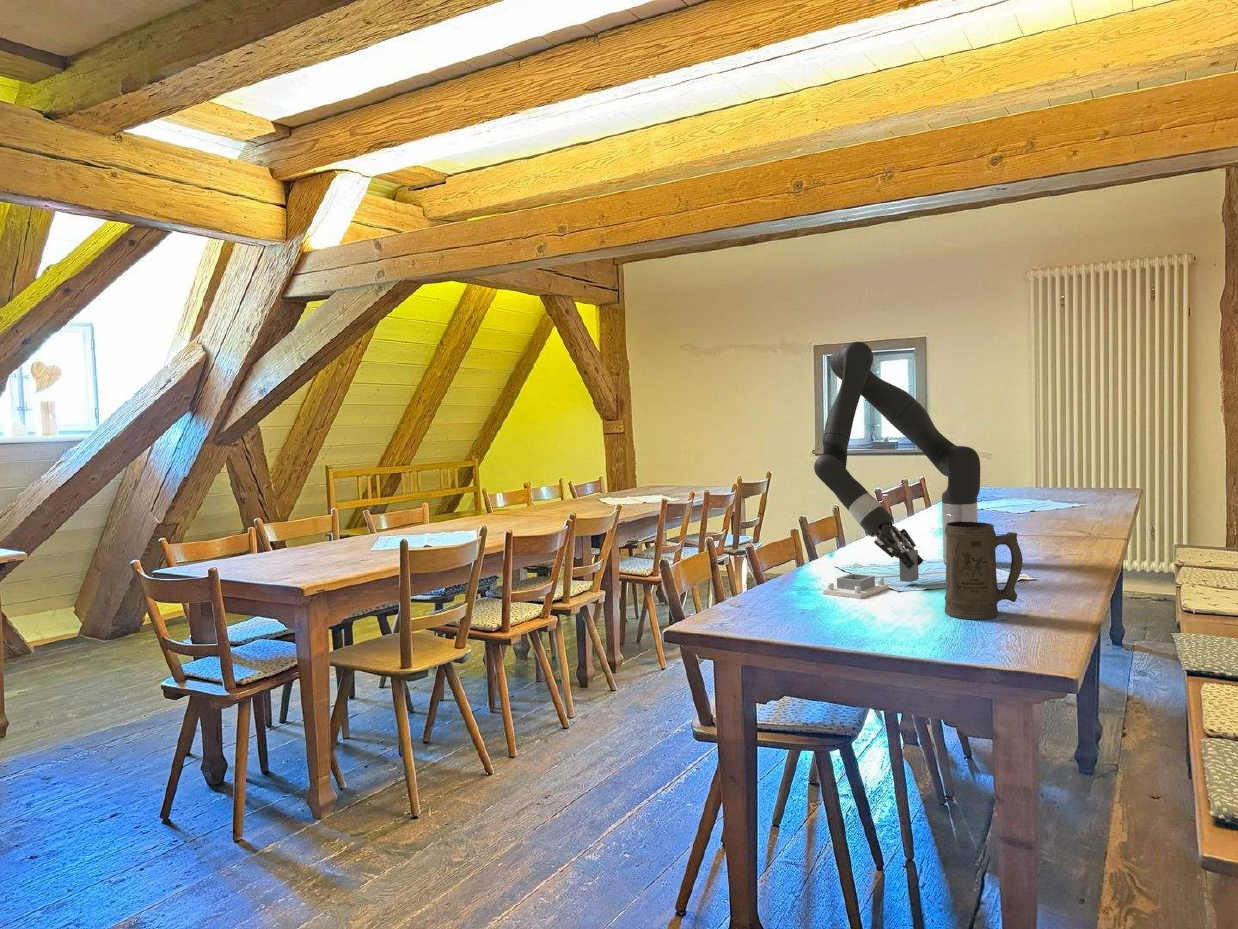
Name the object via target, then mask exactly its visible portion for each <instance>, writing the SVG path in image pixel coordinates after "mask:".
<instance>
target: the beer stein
mask: <svg viewBox="0 0 1238 929" xmlns="http://www.w3.org/2000/svg"><path fill="white" fill-rule="evenodd" d="M945 534H946V537H947V543H946V564H945V595H944V600H945V602H944V603H945V605H944V613H945V615H948V616H950V617H953V618H957V619H961V620H973V619H980V620H989V619H991V620H992V619H995V618H997V617H998V615H999V610H998V603H999V602H1000V601H1003V600H1008V601H1010V602H1013V603H1015V602H1016V600H1017V599H1018V594H1017V592H1016V591H1015V587H1016V584H1017V581H1018V579H1020V578H1019V577H1020V575H1021V572H1022V570H1023V553H1022V550H1021V548H1020V545H1019V543H1018V533H1017V532H1011V531H1010V532H1009V531H1008V532H1006V534H1000V535H996V534H997V533H996V530H995V526H994V524H992V523H987V522H960V521H958V522H950V523H947V524H946V528H945ZM1000 545H1001V546H1003V545H1004V546H1007V548H1008V549H1009V550H1010V554H1011V555H1010V556H1011V558H1010V560H1011V562H1010V569H1009V575H1008V577H1007V581H1006V584H1005V586H1004V587H1003V589H999V588H998V579H997V578H998V577H997V556H996V549H997V547H998V546H1000Z"/></svg>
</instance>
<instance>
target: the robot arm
mask: <svg viewBox="0 0 1238 929" xmlns="http://www.w3.org/2000/svg"><path fill="white" fill-rule="evenodd" d="M873 361H874V354H873V351H872V349H871V347H870V346H869V345H868V344H867V343H864V342H863V341H852V342H850V343H848V344H845V345H844V346H842V347H840V348H838V349H836V350H834V352H832V354H831V355H830V358H829V365H830V368H831V370H832V373H833V374H834V375H835V376H836V377H837V378H838V379H840V380H841V383H840V387H839V389H838V392H837V395H836V397H835V399H834V402H833V403H832V405H831V407H830V409H829V412H828V415H827V418H826V421H825V426H824V430H823V434H822V447H823V451H822V452H823V453H822V455H821V456H819V457H818V458H816V460H815V461H814V466H813V469H814V473H815V475H816V476H817V477H818V478H819V480H820V481H821V482H822V483H823V484H824V485H825V486H827V488H828V489H829V490H830V491H831V492H832V493H833V494H834V495H835V496H836V498H837V499H838V501H839V502H840V503H841V504H842V505H843V506H844V507H845V509H846V510H847V511H848V512H849V513H850V514H851V516H852V517H853V519H854V520H855V521H856V522H857V523H858V525H860V527H861V528H862V529H863V530H864V531H865V532H866V534H867V535H869V537H871V538H874V537H876V539H874V541H873V542H874V543H873V544H875V545H876V546H877V547H879V549H881V550H882V551H883V552H884V553H886V554H887V555H888V557H890V558H894V557H895V558H896V559H898V560H899V559H900V560H901V561H902V563H903V564H904V565H905V566H906V567H907V568H908V569H910V568H912V567H913V566H914V565H915V562H914V561H913V560H912V559H911V558H910V557H909V556H908V555H907V554H906V552H905V553H904V549H911V550H915V547H916V543H915V541H914V540H913V538H911V536H910V534H909V533H908V531H907V530H906V529H905V528H902V529H901V530H900V529H898V528H897V527H896V526H894V524H893V522H894V517H893V515H892V514H890V512H888V510H887V509H886V508H885V507H884V505H882V504H881V503H880V502H879V501H878V499H877V498H875V497H874V496H873V495H872V494H871V493H870V492H868V490H866V488H865V487H864V486H863V485H862V484H861V483H860V482H859V481H858V480H857V479H855V478H854V476H852V474H851V473H850V472H849V471H848V470H847V463H848V462H847V461H848V447H849V443H850V439H851V435H852V430H853V424H854V421H855V420H854V419H855V417H856V416H855V415H856V412H857V408H858V404H859V402H860V398H861V397H863V398H864V399H865V400H866V401H867V402H868V403H869V404H870V405H871V406H872V407H873V408H874V409H875V410H877V411H878V413H880V414H881V415H882V416H883V417H884V418H885V419H886V420H887V421H888V422H889V423H890V424H891V425H892V426H893V427H894V428H895V429H896V430H898V431H899V433H901V434H902V435H903V436H904V437H906V439H907V440H909V441H910V442H911V443H912V444H913V445H915V446H916V448H918V449H919V450H920V451H921V452H922V453H923V454H924V455H925V456H926V457H927V459H928V460H929V461H930V462H931V464H932V465H933V466H934V467H935V468H936V469H937V470H938V471H939V472H940V474H942V475H944V476H945V477H947V487H946V490H945V491H944V492H942V494H941V516H942V517H941V519H942V556H943V557H942V558H943V563H944V564H945V563H946V543H947V537H946V534H945V528H946V524H947V523H950V522H958V521H960V522H978V516H979V515H978V496H979V494H980V490H981V461H980V456H979V455H978V452H977V451H976V450H975V449H974V448H973V447H970V446H964V445H957V444H955V443H953V442H951V441H950V440H949V439H948V438H946V437H945V436H944V435H943V434H942V433H941V432H940V431H939V430H938V429H937V427H936V426H935V424H934V422H933V421H932V419H931V416H930V415H929V413H928V411H927V410H926V409H925V408H924V406H923V405H922V404H921V403H919V402H918V400H917V399H915V398H914V397H913V396H912V395H911V394H910V393H909V392H907V391H905V390H904V389H902V388H900V387H898V386H896V385H894V384H892V383H890V382H887V381H885V380H883V379H882V378H880V377H879V376H878V375H876V374H875V373H874V372H873V371H872V370H871V369H872V365H873V363H874V362H873ZM923 562H924V559H923V558H922V557H921V556H920V554H918V566H920V565H921V564H922V563H923Z"/></svg>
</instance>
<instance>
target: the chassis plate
mask: <svg viewBox="0 0 1238 929" xmlns="http://www.w3.org/2000/svg"><path fill="white" fill-rule="evenodd" d="M875 577H876V576H875V575H866V574H859V573H849V574H845V575H843V576H840V577H836V585H834V583H833V582H828V583H827V588H825V589H823V590H822V591H823V595H830V596H835V595H837V596H838V595H839V596H838V597H843V596H846V597H845V598H850V597H851V599H859V600H860V599H863V598H866V597H868V596H871V595H872V596H873V595H874V594H878V593H879V592H880V593H881V592H883V591H885V590H888V589H889V586H890V585H889V584H888V583H885V578H883V577H880V578H877V582H876V578H875ZM837 596H836V597H837Z"/></svg>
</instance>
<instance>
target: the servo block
mask: <svg viewBox="0 0 1238 929" xmlns="http://www.w3.org/2000/svg"><path fill="white" fill-rule="evenodd" d="M918 550H919V549H914V550H911V549H904V553H905V552H906V554H907V555H908V556H909V557H910V558H911V559H912V560H913V561H914V562H915V565H914V566H913V567H912V568H910V569H908V568H907V567H906V566H905V565H904V564H903V563H902V561H901V560H900V559H899V558H898V560H899V561H898V562H899V582H907V583H912V582H915V581H917V580H919V565H918V555H919V553H918V552H919V551H918Z"/></svg>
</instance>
